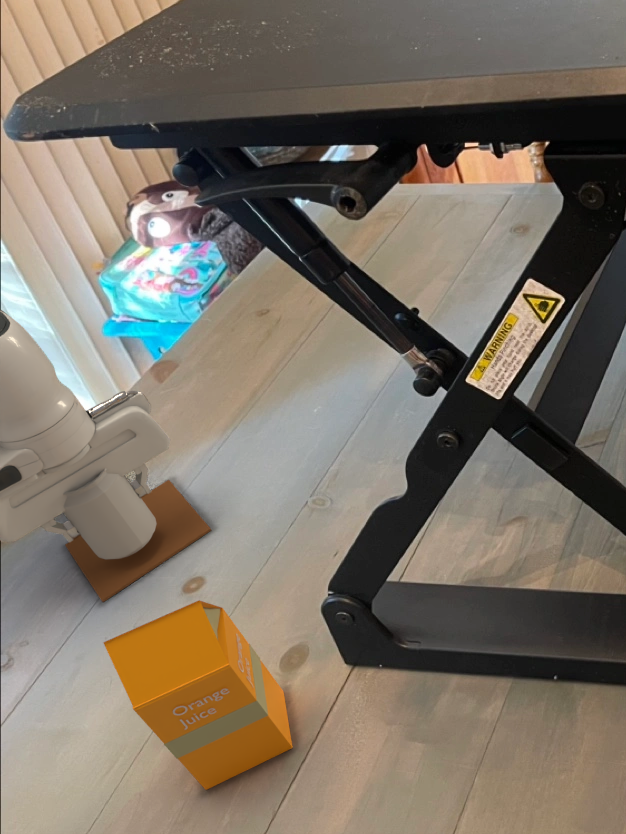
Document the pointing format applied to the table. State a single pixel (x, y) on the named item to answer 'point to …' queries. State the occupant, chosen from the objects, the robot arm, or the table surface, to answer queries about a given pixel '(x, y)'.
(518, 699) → the table surface
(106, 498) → the can
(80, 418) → the robot arm
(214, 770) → the orange juice
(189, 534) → the mat
